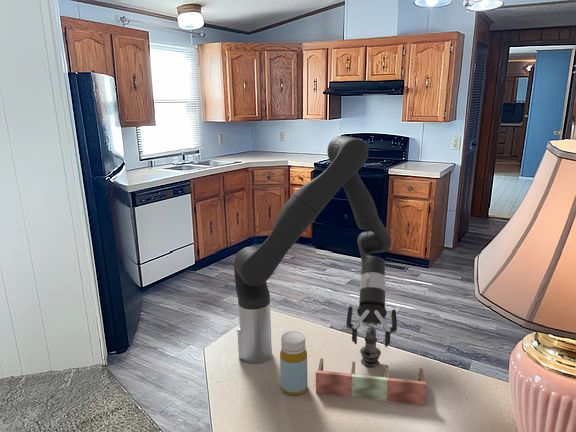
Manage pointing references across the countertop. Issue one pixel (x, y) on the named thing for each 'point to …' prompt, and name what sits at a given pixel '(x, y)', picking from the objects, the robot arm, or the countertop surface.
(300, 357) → the bottle
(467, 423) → the countertop surface
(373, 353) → the grey chess piece
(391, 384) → the bay rack
